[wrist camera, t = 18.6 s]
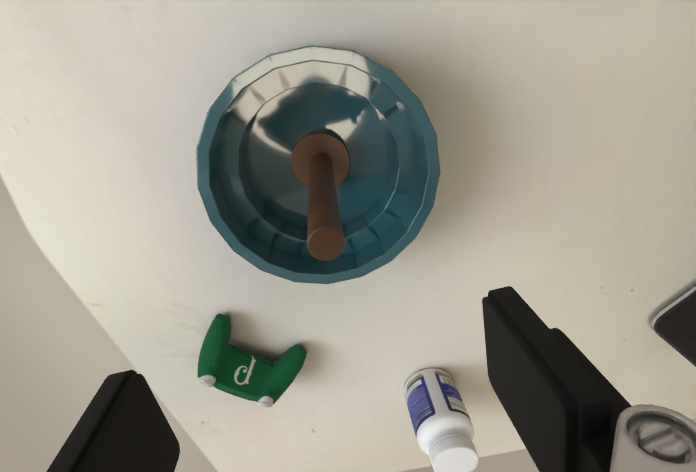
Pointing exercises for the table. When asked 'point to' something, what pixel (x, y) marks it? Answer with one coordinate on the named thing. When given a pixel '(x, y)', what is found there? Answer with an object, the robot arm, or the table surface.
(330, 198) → the stick
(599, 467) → the robot arm
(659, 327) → the camera
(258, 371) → the gaming controller
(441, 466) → the pill bottle
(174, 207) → the table surface
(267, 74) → the bowl
